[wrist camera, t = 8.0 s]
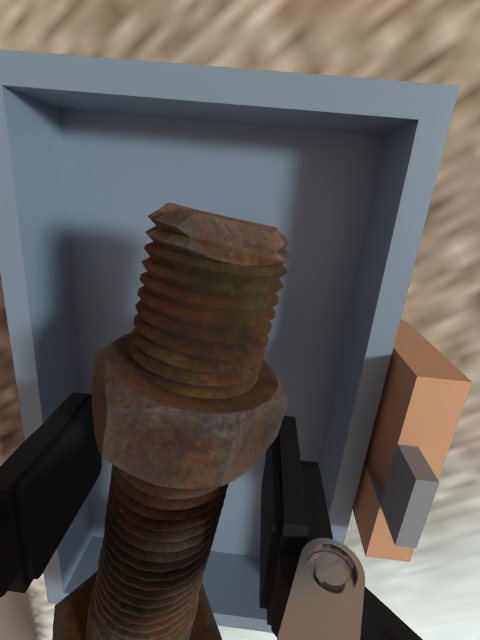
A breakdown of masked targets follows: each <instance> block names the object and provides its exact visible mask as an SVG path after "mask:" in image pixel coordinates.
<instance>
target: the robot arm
mask: <svg viewBox="0 0 480 640" xmlns="http://www.w3.org/2000/svg"><path fill="white" fill-rule="evenodd" d="M101 469H102V457H101V455H100V452H99V450H98V447H97V443H96V438H95V433H94V424H93V414H92V394H87V393H78V392H73V393H72V394H70V396H69V397H68V398H67V399H66V400H65V401H64V402H63V403H62V404H61V405H60V406H59V407H58V408H57V409H56V410H55V411H54V412H53V413H52V414H51V415H50V417H49V418H48V419H47V420H46V421H45V422H44V423H43V424H42V425H41V426H40V427H39V428H38V429H37V430H36V431H35V432H34V433H32V434H31V435H30V436H29V437H28V438H27V439H26V440H25V441H24V442H23V443H22V444H21V446H20V447H19V448H18V449H17V450H16V451H15V452H14V453H13V454H12V455H11V456H10V457H9V458H8V459H7V460H6V461H5V462H4V463H3V464H2V465H1V466H0V597H2V596H3V595H5V593H6V592H7V591H13V592H21V593H25V592H26V591H27V589H28V587H29V586H30V584H31V582H32V580H33V579H38V578H39V577H40V576H41V575H42V573H43V572H44V570H45V568H46V567H47V565H48V563H49V561H50V560H51V558H52V556H53V555H54V553H55V551H56V549H57V548H58V546H59V544H60V543H61V541H62V539H63V537H64V536H65V534H66V532H67V530H68V529H69V527H70V525H71V524H72V522H73V520H74V518H75V517H76V515H77V513H78V512H79V510H80V508H81V506H82V505H83V503H84V501H85V499H86V498H87V496H88V494H89V493H90V491H91V489H92V487H93V486H94V484H95V482H96V481H97V479H98V477H99V475H100V472H101ZM259 607H260V608H262V609H267V625H271V630H272V632H273V633H274V634H275V636H276V637H277V640H422V639H421V638H420V637H419V636H418V635H417V634H416V633H415V632H414V631H413V630H412V629H410V628H409V627H408V626H407V625H406V624H405V623H404V622H403V621H402V620H401V619H400V618H399V617H397V616H396V615H395V614H394V613H393V612H392V611H391V610H390V609H389V608H388V607H387V606H386V605H384V604H383V603H382V602H381V601H380V600H379V599H378V598H377V597H376V596H375V595H374V594H373V593H371V592H370V591H369V590H368V589H367V588H366V587H365V574H364V570H363V567H362V565H361V562H360V561H359V559H358V558H357V556H356V555H355V554H354V552H352V551H351V550H350V549H349V548H348V547H347V546H346V545H344V544H342V543H340V542H338V541H336V540H333V535H332V530H331V525H330V519H329V514H328V509H327V504H326V499H325V493H324V488H323V483H322V478H321V473H320V468H319V464H318V463H317V462H311V461H302V460H301V458H300V450H299V442H298V435H297V427H296V419H295V417H293V416H284V417H283V420H282V423H281V426H280V429H279V432H278V435H277V437H276V438H275V440H274V441H273V442H272V444H271V445H270V446H269V448H268V449H267V450H266V457H265V464H264V472H263V479H262V488H261V528H260V590H259Z"/></svg>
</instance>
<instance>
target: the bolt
mask: <svg viewBox="0 0 480 640" xmlns="http://www.w3.org/2000/svg"><path fill="white" fill-rule="evenodd" d="M148 217H149V218H150V219H151V220H152V222H153V223H154V224H155V225H156V226H155V227H153V228H151V229H149V230H147V231H146V232H145V233H146V234H147V235H148V236H149V237H150V238H151V239H152V241H153V242H151V243H148V244H146V245H145V247H144V249H145V250H146V252H147V253H148V254H149V256H150V257H148V258H146V259H145V260H143V261H141V262H142V264H143V266H144V267H145V269H146V270H147V272H145V273H142V274H141V276H140V279H139V280H140V281H141V282H142V283H143V285H144V286H143V287H140V288H139V290H138V293H137V295H138V296H139V297H140V299H141V300H140V301H139V302H138V303H137V304H136V305H135V307H136V310H137V313H138V314H136V315H135V317H134V321H133V324H134V325H135V328H134V329H133V331H132V332H131V333H130V334H126V335H123V336H122V337H120V338H119V339H117V340H115V341H114V342H112V343H111V344H109V345H107V346H106V347H104V348H103V349H101V350H100V351H98V352H97V353H95V361H94V371H93V380H92V390H91V393H92V414H93V424H94V433H95V438H96V443H97V447H98V450H99V452H100V455H101V457H102V458H103V459H105V460H106V461H108V462H110V463H111V464H112V470H111V481H110V487H109V495H108V502H107V508H106V509H107V510H106V515H105V525H104V528H105V531H104V537H103V542H102V548H101V551H100V557H99V560H98V570H97V571H96V572H95V573H94V574H93V575H92V576H90V577H89V578H88V579H87V580H85V581H84V582H83V583H82V584H81V585H79V586H78V587H77V588H76V589H75V590H73V591H72V592H71V593H70V594H69V595H67V596H66V597H65V598H64V599H63V600H61V601H60V602H59V603H58V604H57V605H55V611H54V623H53V640H222V638H221V635H220V632H219V629H218V626H217V624H216V621H215V618H214V615H213V612H212V609H211V606H210V603H209V600H208V597H207V595H206V592H205V589H204V586H203V583H202V580H203V574H204V571H205V569H206V566H207V562H208V559H209V555H210V552H211V548H212V544H213V541H214V537H215V534H216V529H217V526H218V523H219V518H220V516H221V510H222V507H223V505H224V499H225V497H226V491H227V488H228V485H229V483H230V482H232V481H235V480H236V479H238V478H239V477H240V476H242V475H243V474H244V473H246V472H247V471H249V470H250V469H251V467H252V466H253V465H254V464H255V463H256V462H257V461H258V460H259V459H260V457H261V456H262V455H263V454H264V453H265V452H266V450H267V449H268V448H269V446H270V445H271V444H272V442H273V441H274V440H275V438H276V437H277V435H278V432H279V429H280V426H281V423H282V420H283V417H284V413H285V410H286V407H287V404H288V401H289V400H288V398H287V395H286V393H285V391H284V389H283V387H282V385H281V383H280V381H279V379H278V377H277V375H276V374H275V372H274V371H273V369H272V368H271V366H270V365H269V364H268V363H267V362H266V361H264V360H263V357H264V353H265V348H264V347H265V346H267V343H268V340H269V338H268V335H267V334H268V333H270V332H271V328H272V324H271V322H270V320H272V319H274V317H275V313H276V311H275V310H274V309H273V306H275V305H277V304H278V302H279V297H278V295H277V294H276V292H278V291H279V290H280V289H282V288H283V287H284V286H283V284H282V281H281V280H280V279H279V278H280V277H282V276H284V275H285V274H286V273H287V270H286V268H285V267H284V266H283V263H286V262H288V261H290V260H291V259H292V256H291V255H290V254H289V253H288V252H287V250H286V249H285V248H286V246H287V245H288V244H289V241H288V240H287V239H286V237H285V236H284V235H283V234H282V233H280V232H279V230H278V229H277V228H276V227H272V226H268V225H263V224H258V223H254V222H249V221H245V220H240V219H236V218H231V217H227V216H223V215H218V214H214V213H209V212H205V211H200V210H196V209H192V208H188V207H185V206H181V205H177V204H173V203H166V204H165V205H164V206H162V207H161V208H160V209H159V210H157V211H155V212H153V213H152V214H150V215H148Z"/></svg>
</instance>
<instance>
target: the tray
mask: <svg viewBox="0 0 480 640" xmlns="http://www.w3.org/2000/svg"><path fill="white" fill-rule="evenodd" d="M459 87H460V86H456V85H443V84H430V83H418V82H405V81H392V80H380V79H367V78H354V77H342V76H329V75H316V74H304V73H291V72H278V71H266V70H253V69H240V68H228V67H215V66H202V65H190V64H177V63H165V62H152V61H139V60H127V59H114V58H101V57H89V56H76V55H63V54H51V53H38V52H25V51H13V50H0V274H1V281H2V288H3V295H4V302H5V309H6V316H7V323H8V330H9V336H10V343H11V350H12V357H13V364H14V371H15V378H16V385H17V392H18V399H19V406H20V413H21V419H22V426H23V433H24V440H26V439H27V438H28V437H29V436H30V435H31V434H32V433H34V432H35V431H36V430H37V429H38V428H39V427H40V426H41V425H42V424H43V423H44V422H45V421H46V420H47V419H48V418H49V417H50V415H51V414H52V413H53V412H54V411H55V410H56V409H57V408H58V407H59V406H60V405H61V404H62V403H63V402H64V401H65V400H66V399H67V398H68V397H69V396H70V394H72V393H73V392H78V393H87V394H92V393H91V390H92V380H93V371H94V361H95V353H97V352H98V351H100V350H101V349H103V348H104V347H106V346H107V345H109V344H111V343H112V342H114V341H115V340H117V339H119V338H120V337H122V336H123V335H126V334H130V333H131V332H132V331H133V329H134V328H135V325H134V324H133V321H134V317H135V315H136V314H138V313H137V310H136V307H135V305H136V304H137V303H138V302H139V301H140V300H141V299H140V297H139V296H138V295H137V293H138V290H139V288H140V287H143V286H144V285H143V283H142V282H141V281H140V280H139V279H140V276H141V274H142V273H145V272H147V270H146V269H145V267H144V266H143V264H142V262H141V261H143V260H145V259H146V258H148V257H150V256H149V254H148V253H147V252H146V250H145V249H144V247H145V245H146V244H148V243H151V242H153V241H152V239H151V238H150V237H149V236H148V235H147V234H146V233H145V232H146V231H147V230H149V229H151V228H153V227H155V226H156V225H155V224H154V223H153V222H152V220H151V219H150V218H149V217H148V215H150V214H152V213H153V212H155V211H157V210H159V209H160V208H161V207H162V206H164V205H165V204H166V203H173V204H177V205H181V206H185V207H188V208H192V209H196V210H200V211H205V212H209V213H214V214H218V215H223V216H227V217H231V218H236V219H240V220H245V221H249V222H254V223H258V224H263V225H268V226H272V227H276V228H277V229H278V230H279V232H280V233H282V234H283V235H284V236H285V237H286V239H287V240H288V241H289V244H288V245H287V246H286V248H285V249H286V250H287V252H288V253H289V254H290V255H291V256H292V259H291V260H290V261H288V262H286V263H283V266H284V267H285V268H286V270H287V273H286V274H285V275H284V276H282V277H280V278H279V279H280V280H281V281H282V284H283V286H284V287H283V288H282V289H280V290H279V291H278V292H276V294H277V295H278V297H279V302H278V304H277V305H275V306H273V309H274V310H275V311H276V313H275V317H274V319H272V320H270V322H271V324H272V328H271V332H270V333H268V334H267V335H268V338H269V340H268V343H267V346H265V347H264V348H265V353H264V357H263V360H264V361H266V362H267V363H268V364H269V365H270V366H271V368H272V369H273V371H274V372H275V374H276V375H277V377H278V379H279V381H280V383H281V385H282V387H283V389H284V391H285V393H286V395H287V398H288V400H289V401H288V404H287V407H286V410H285V413H284V416H293V417H295V419H296V427H297V435H298V442H299V450H300V458H301V460H302V461H311V462H317V463H318V464H319V468H320V473H321V478H322V483H323V488H324V493H325V499H326V504H327V509H328V514H329V519H330V525H331V530H332V535H333V540H336V541H338V542H340V543H342V544H344V540H345V536H346V533H347V529H348V525H349V521H350V517H351V513H352V509H353V505H354V501H355V497H356V493H357V489H358V485H359V481H360V477H361V473H362V469H363V465H364V462H365V458H366V454H367V450H368V446H369V442H370V438H371V434H372V430H373V426H374V422H375V418H376V414H377V410H378V406H379V402H380V398H381V394H382V390H383V387H384V383H385V379H386V375H387V371H388V367H389V363H390V359H391V355H392V351H393V347H394V343H395V339H396V335H397V331H398V327H399V323H400V319H401V316H402V312H403V308H404V304H405V300H406V296H407V292H408V288H409V284H410V280H411V276H412V272H413V268H414V264H415V260H416V256H417V252H418V248H419V244H420V241H421V237H422V233H423V229H424V225H425V221H426V217H427V213H428V209H429V205H430V201H431V197H432V193H433V189H434V185H435V181H436V177H437V173H438V170H439V166H440V162H441V158H442V154H443V150H444V146H445V142H446V138H447V134H448V130H449V126H450V122H451V118H452V114H453V110H454V106H455V102H456V98H457V95H458V91H459ZM265 457H266V452H265V453H264V454H263V455H262V456H261V457H260V459H259V460H258V461H257V462H256V463H255V464H254V465H253V466H252V467H251V469H250V470H249V471H247V472H246V473H244V474H243V475H242V476H240V477H239V478H238V479H236V480H235V481H232V482H230V483H229V485H228V488H227V491H226V497H225V499H224V505H223V507H222V510H221V516H220V518H219V523H218V526H217V529H216V534H215V537H214V541H213V544H212V548H211V552H210V555H209V559H208V562H207V566H206V569H205V571H204V574H203V580H202V583H203V586H204V589H205V592H206V595H207V597H208V600H209V603H210V606H211V609H212V612H213V615H214V618H215V621H216V624H217V625H219V626H227V627H234V628H241V629H249V630H256V631H264V632H271V633H273V632H272V630H271V625H267V609H262V608H260V607H259V590H260V528H261V488H262V479H263V472H264V464H265ZM111 470H112V464H111V463H110V462H108V461H106V460H105V459H103V458H102V469H101V472H100V475H99V477H98V479H97V481H96V482H95V484H94V486H93V487H92V489H91V491H90V493H89V494H88V496H87V498H86V499H85V501H84V503H83V505H82V506H81V508H80V510H79V512H78V513H77V515H76V517H75V518H74V520H73V522H72V524H71V525H70V527H69V529H68V530H67V532H66V534H65V536H64V537H63V539H62V541H61V543H60V544H59V546H58V548H57V549H56V551H55V553H54V555H53V556H52V558H51V560H50V561H49V563H48V565H47V567H46V568H45V570H44V578H45V585H46V592H47V599H48V603H56V604H58V603H59V602H60V601H61V600H63V599H64V598H65V597H66V596H67V595H69V594H70V593H71V592H72V591H73V590H75V589H76V588H77V587H78V586H79V585H81V584H82V583H83V582H84V581H85V580H87V579H88V578H89V577H90V576H92V575H93V574H94V573H95V572H96V571H97V570H98V560H99V557H100V551H101V548H102V542H103V537H104V531H105V528H104V525H105V515H106V510H107V509H106V508H107V502H108V495H109V487H110V481H111Z"/></svg>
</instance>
